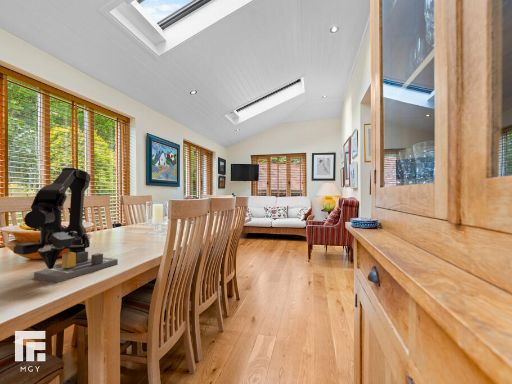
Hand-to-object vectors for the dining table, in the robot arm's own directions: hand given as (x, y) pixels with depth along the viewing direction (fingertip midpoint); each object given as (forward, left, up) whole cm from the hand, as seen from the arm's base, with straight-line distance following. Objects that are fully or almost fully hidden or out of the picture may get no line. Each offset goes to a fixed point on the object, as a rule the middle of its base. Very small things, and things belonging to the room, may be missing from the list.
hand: (50, 268), depth 90 cm
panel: (0, +10, -3) cm, 11 cm away
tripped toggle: (0, +6, -1) cm, 6 cm away
